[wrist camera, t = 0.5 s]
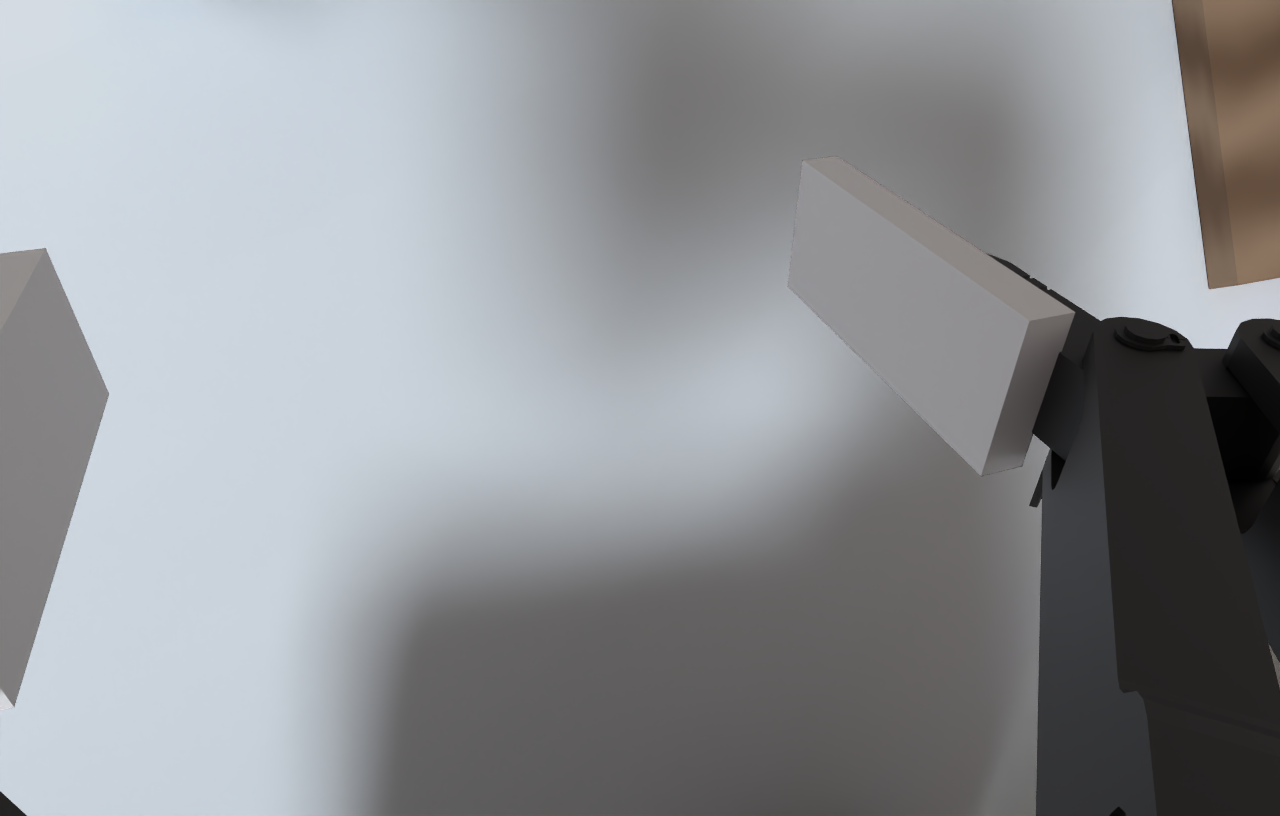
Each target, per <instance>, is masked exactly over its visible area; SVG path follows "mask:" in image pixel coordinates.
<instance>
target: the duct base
mask: <svg viewBox="0 0 1280 816" xmlns="http://www.w3.org/2000/svg"><path fill="white" fill-rule="evenodd" d="M1172 2H1173V10H1174V17H1175V25H1176V33H1177V41H1178V49H1179V56H1180V64H1181V72H1182V80H1183V88H1184V95H1185V103H1186V111H1187V119H1188V127H1189V135H1190V142H1191V150H1192V158H1193V166H1194V174H1195V181H1196V189H1197V197H1198V205H1199V213H1200V220H1201V228H1202V236H1203V244H1204V252H1205V260H1206V267H1207V275H1208V283H1209V289H1214V288H1221V287H1228V286H1235V285H1242V284H1247V283H1253V282H1258V281H1264V280H1269V279H1275V278H1280V0H1172Z"/></svg>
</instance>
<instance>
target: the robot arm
mask: <svg viewBox="0 0 1280 816" xmlns="http://www.w3.org/2000/svg"><path fill="white" fill-rule="evenodd" d="M788 287H789V288H790V289H791V290H792V291H793V292H794V293H795V294H796V295H797V296H798V297H799V298H800V299H801V300H802V301H803V302H804V303H805V304H806V305H807V306H808V307H809V308H810V309H811V310H812V311H813V312H814V313H815V314H816V315H817V316H818V317H819V318H820V319H821V320H822V321H823V322H824V323H825V324H826V325H828V326H829V327H830V328H831V329H832V330H833V331H834V332H835V333H836V334H837V335H838V336H839V337H840V338H841V339H842V340H843V341H844V342H845V343H846V344H847V345H848V346H849V347H850V348H851V349H852V350H853V351H854V352H855V353H856V354H857V355H858V356H859V357H860V358H861V359H862V360H863V361H864V362H865V363H866V364H867V365H868V366H869V367H870V368H871V369H872V370H873V371H874V372H875V373H876V374H877V375H878V376H879V377H880V378H881V379H882V380H884V381H885V382H886V383H887V384H888V385H889V386H890V387H891V388H892V389H893V390H894V391H895V392H896V393H897V394H898V395H899V396H900V397H901V398H902V399H903V400H904V401H905V402H906V403H907V404H908V405H909V406H910V407H911V408H912V409H913V410H914V411H915V412H916V413H917V414H918V415H919V416H920V417H921V418H922V419H923V420H924V421H925V422H926V423H927V424H928V425H929V426H930V427H931V428H932V429H933V430H934V431H935V432H936V433H937V434H938V435H940V436H941V437H942V438H943V439H944V440H945V441H946V442H947V443H948V444H949V445H950V446H951V447H952V448H953V449H954V450H955V451H956V452H957V453H958V454H959V455H960V456H961V457H962V458H963V459H964V460H965V461H966V462H967V463H968V464H969V465H970V466H971V467H972V468H973V469H974V470H975V471H976V472H977V473H978V474H979V475H980V476H984V475H988V474H992V473H996V472H1000V471H1005V470H1009V469H1013V468H1017V467H1021V466H1022V465H1023V462H1024V459H1025V456H1026V453H1027V450H1028V448H1029V445H1030V442H1031V439H1032V436H1033V434H1034V435H1035V436H1037V437H1038V438H1039V439H1040V440H1041V441H1042V442H1044V443H1045V444H1046V445H1047V446H1048V447H1049V448H1050V450H1049V453H1048V456H1047V459H1046V461H1045V464H1044V467H1043V470H1042V472H1041V475H1040V478H1039V481H1038V483H1037V486H1036V489H1035V491H1034V494H1033V497H1032V500H1031V502H1030V505H1029V506H1032V507H1037V506H1038V504H1039V502H1040V500H1041V499H1042V536H1041V587H1040V637H1039V687H1038V738H1037V788H1036V816H1280V688H1279V684H1278V680H1277V676H1276V672H1275V669H1274V665H1273V661H1272V657H1271V653H1270V649H1269V645H1270V646H1271V648H1272V650H1273V652H1274V653H1275V655H1276V657H1277V659H1278V660H1279V662H1280V320H1275V319H1251V320H1248V321H1245V322H1241V324H1240V325H1239V327H1238V328H1237V330H1236V332H1235V334H1234V336H1233V338H1232V341H1231V343H1230V345H1229V347H1228V349H1196V348H1193V347H1192V345H1191V343H1190V342H1189V340H1188V339H1187V338H1185V337H1184V336H1182V335H1181V334H1180V333H1178V332H1177V331H1175V330H1173V329H1171V328H1168V327H1166V326H1164V325H1161V324H1159V323H1155V322H1151V321H1147V320H1143V319H1139V318H1128V317H1116V318H1107V319H1104V320H1102V321H1100V320H1098V319H1096V318H1095V317H1093V316H1092V315H1090V314H1089V313H1087V312H1086V311H1084V310H1083V309H1081V308H1079V307H1078V306H1076V305H1075V304H1073V303H1072V302H1070V301H1069V300H1067V299H1065V298H1064V297H1062V296H1061V295H1059V294H1058V293H1056V292H1055V291H1053V290H1052V289H1050V290H1047V286H1045V285H1044V284H1042V283H1041V282H1039V281H1038V280H1036V279H1035V278H1031V279H1030V275H1028V274H1027V273H1025V272H1024V271H1022V270H1021V269H1019V268H1018V267H1016V266H1014V265H1013V264H1011V263H1010V262H1008V261H1005V260H1003V259H1000V258H997V257H995V256H992V255H989V254H987V253H984V252H983V251H981V250H980V249H978V248H976V247H975V246H973V245H972V244H970V243H969V242H967V241H966V240H964V239H963V238H961V237H960V236H958V235H957V234H955V233H954V232H952V231H951V230H949V229H948V228H946V227H944V226H943V225H941V224H940V223H938V222H937V221H935V220H934V219H932V218H931V217H929V216H928V215H926V214H925V213H923V212H922V211H920V210H919V209H917V208H915V207H914V206H912V205H911V204H909V203H908V202H906V201H905V200H903V199H902V198H900V197H899V196H897V195H896V194H894V193H893V192H891V191H890V190H888V189H886V188H885V187H883V186H882V185H880V184H879V183H877V182H876V181H874V180H873V179H871V178H870V177H868V176H867V175H865V174H864V173H862V172H861V171H859V170H857V169H856V168H854V167H853V166H851V165H850V164H848V163H847V162H845V161H844V160H842V159H841V158H839V157H838V156H834V157H826V158H817V159H809V160H802V169H801V177H800V185H799V194H798V202H797V211H796V219H795V227H794V236H793V244H792V253H791V261H790V269H789V278H788ZM108 396H109V392H108V390H107V388H106V386H105V383H104V381H103V379H102V376H101V374H100V372H99V369H98V367H97V365H96V363H95V360H94V358H93V356H92V353H91V351H90V349H89V347H88V344H87V342H86V340H85V337H84V335H83V333H82V331H81V328H80V326H79V324H78V321H77V319H76V317H75V314H74V312H73V310H72V308H71V305H70V303H69V301H68V298H67V296H66V294H65V292H64V289H63V287H62V285H61V282H60V280H59V278H58V276H57V273H56V271H55V269H54V266H53V264H52V262H51V259H50V257H49V255H48V253H47V250H46V248H44V249H35V250H27V251H18V252H10V253H1V254H0V711H1V710H5V709H10V708H14V706H15V703H16V699H17V696H18V693H19V690H20V686H21V683H22V680H23V676H24V673H25V670H26V667H27V663H28V660H29V657H30V653H31V650H32V647H33V643H34V640H35V637H36V634H37V630H38V627H39V624H40V620H41V617H42V614H43V610H44V607H45V604H46V601H47V597H48V594H49V591H50V587H51V584H52V581H53V577H54V574H55V571H56V568H57V564H58V561H59V558H60V554H61V551H62V548H63V544H64V541H65V538H66V535H67V531H68V528H69V525H70V521H71V518H72V515H73V511H74V508H75V505H76V502H77V498H78V495H79V492H80V488H81V485H82V482H83V478H84V475H85V472H86V469H87V465H88V462H89V459H90V455H91V452H92V449H93V445H94V442H95V439H96V436H97V432H98V429H99V426H100V422H101V419H102V416H103V412H104V409H105V406H106V403H107V399H108ZM1268 643H1269V645H1268ZM0 816H26V815H25V814H24V813H23V812H22V811H21V810H20V809H19V808H18V807H17V806H16V805H14V804H13V803H12V802H11V801H10V800H9V799H8V798H7V797H6V796H5V795H4V794H2V793H1V792H0Z"/></svg>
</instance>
